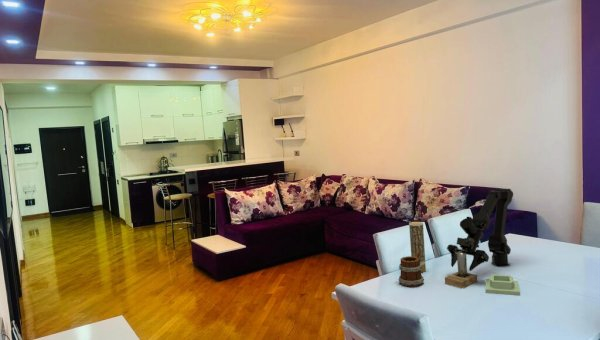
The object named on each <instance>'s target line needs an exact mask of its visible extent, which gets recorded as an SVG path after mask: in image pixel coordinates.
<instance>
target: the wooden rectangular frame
mask: <svg viewBox="0 0 600 340" xmlns="http://www.w3.org/2000/svg"><path fill="white" fill-rule="evenodd" d="M477 282H478V275H477V274H474V273H469V272H467V277H466V278H462V277H458V271H456V272H454V273H452V274H449V275H447V276H445V277H444V284H445V285H448V286H451V285H452V287H454V288H455V287H456V288H459V289H462V288H463V289H465V288H467V287H469V286H472V285H473V284H475V283H477Z"/></svg>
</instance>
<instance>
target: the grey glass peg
mask: <svg viewBox="0 0 600 340" xmlns="http://www.w3.org/2000/svg"><path fill="white" fill-rule="evenodd" d="M456 263H457V272H458V277H462V278H466V277H467V273H468V262H467V254H466V252H464V251H458V252H457V261H456Z"/></svg>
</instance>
